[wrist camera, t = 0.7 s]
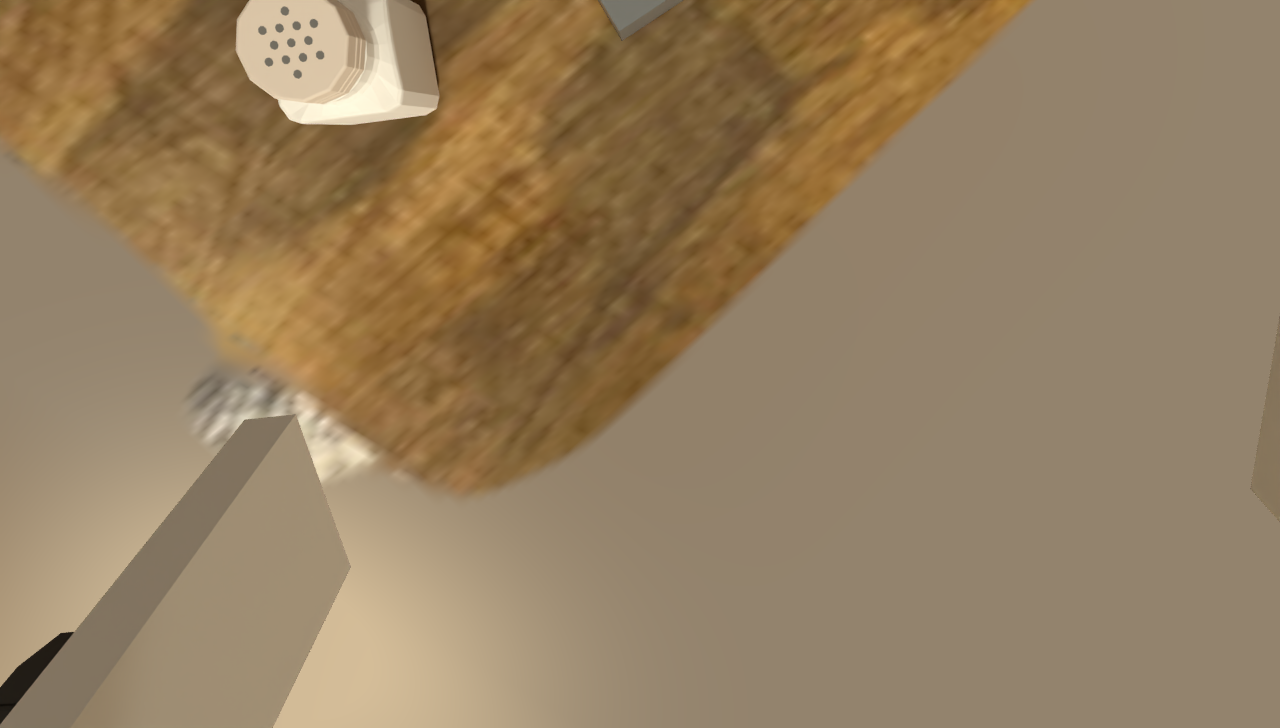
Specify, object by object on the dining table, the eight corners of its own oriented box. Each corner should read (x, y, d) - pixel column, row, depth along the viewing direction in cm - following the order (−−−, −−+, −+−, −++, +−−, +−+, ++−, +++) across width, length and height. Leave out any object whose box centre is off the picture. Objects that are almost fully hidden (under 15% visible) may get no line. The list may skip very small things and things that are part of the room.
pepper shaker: (445, 112, 36) (375, 107, 27) (341, 126, 36) (236, 125, 27) (426, 1, 35) (348, -45, 26) (319, 16, 36) (203, -24, 26)
